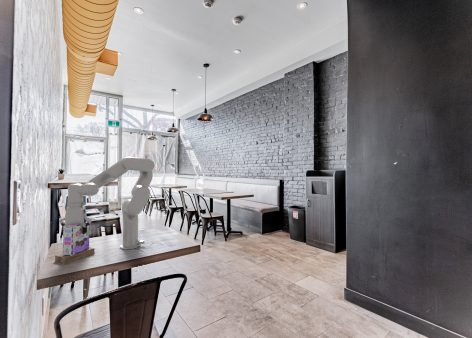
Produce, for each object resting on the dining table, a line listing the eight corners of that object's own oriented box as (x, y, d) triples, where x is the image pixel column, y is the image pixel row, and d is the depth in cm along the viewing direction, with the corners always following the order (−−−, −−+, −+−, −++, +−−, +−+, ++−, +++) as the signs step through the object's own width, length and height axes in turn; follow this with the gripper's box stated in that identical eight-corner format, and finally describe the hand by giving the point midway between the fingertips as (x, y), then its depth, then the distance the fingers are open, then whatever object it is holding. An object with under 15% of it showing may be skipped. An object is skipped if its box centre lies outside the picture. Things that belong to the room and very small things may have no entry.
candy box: (72, 256, 132) (72, 226, 132) (62, 255, 133) (62, 226, 133) (89, 247, 146) (89, 221, 146) (80, 247, 147) (81, 220, 147)
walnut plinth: (94, 254, 146) (94, 248, 145) (65, 265, 130) (65, 257, 130) (84, 252, 149) (84, 246, 149) (55, 262, 134) (55, 255, 134)
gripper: (94, 203, 144) (94, 231, 144) (63, 204, 142) (63, 232, 142) (88, 205, 137) (88, 235, 137) (55, 206, 134) (55, 236, 135)
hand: (75, 233), depth 139 cm, fingers open, 9 cm apart
